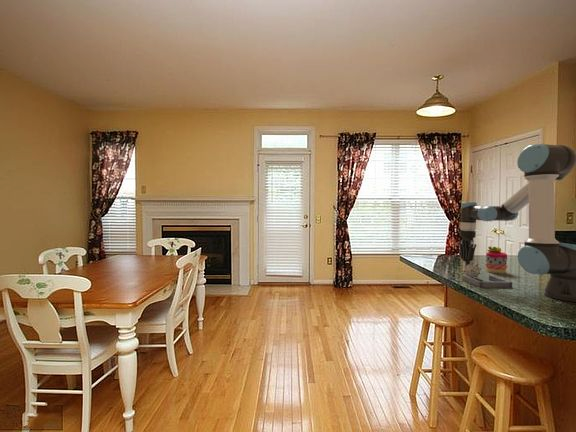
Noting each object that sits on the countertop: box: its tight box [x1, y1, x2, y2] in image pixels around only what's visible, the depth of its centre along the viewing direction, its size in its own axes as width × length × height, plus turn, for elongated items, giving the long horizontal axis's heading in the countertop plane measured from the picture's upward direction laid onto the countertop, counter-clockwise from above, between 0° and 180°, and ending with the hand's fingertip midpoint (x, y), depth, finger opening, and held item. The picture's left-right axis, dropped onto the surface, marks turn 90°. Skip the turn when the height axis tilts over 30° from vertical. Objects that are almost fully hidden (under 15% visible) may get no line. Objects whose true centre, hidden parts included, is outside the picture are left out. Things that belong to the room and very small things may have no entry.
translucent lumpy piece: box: [462, 261, 482, 279], centre depth 174 cm, size 9×8×10 cm
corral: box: [461, 274, 513, 288], centre depth 163 cm, size 15×15×2 cm
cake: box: [485, 245, 508, 275], centre depth 191 cm, size 10×11×15 cm
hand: (466, 272), depth 180 cm, fingers closed
